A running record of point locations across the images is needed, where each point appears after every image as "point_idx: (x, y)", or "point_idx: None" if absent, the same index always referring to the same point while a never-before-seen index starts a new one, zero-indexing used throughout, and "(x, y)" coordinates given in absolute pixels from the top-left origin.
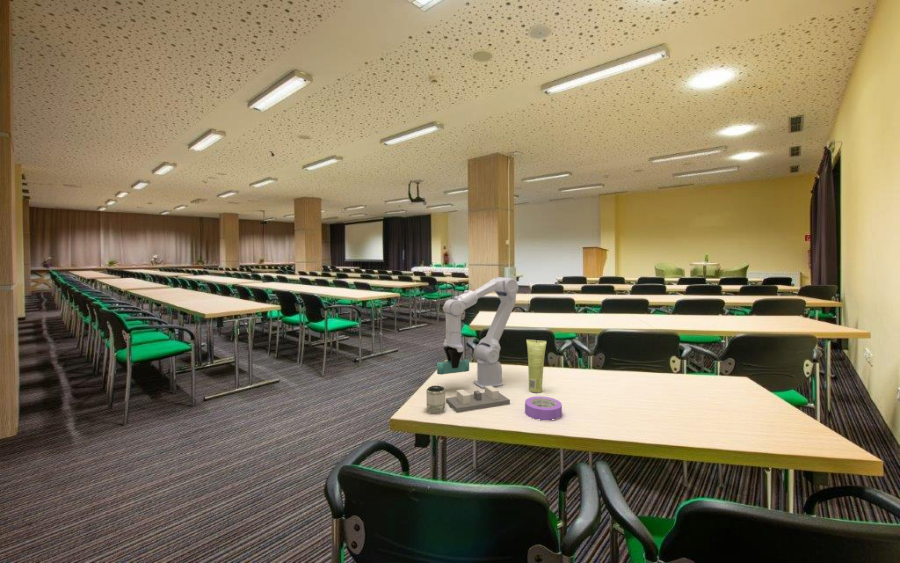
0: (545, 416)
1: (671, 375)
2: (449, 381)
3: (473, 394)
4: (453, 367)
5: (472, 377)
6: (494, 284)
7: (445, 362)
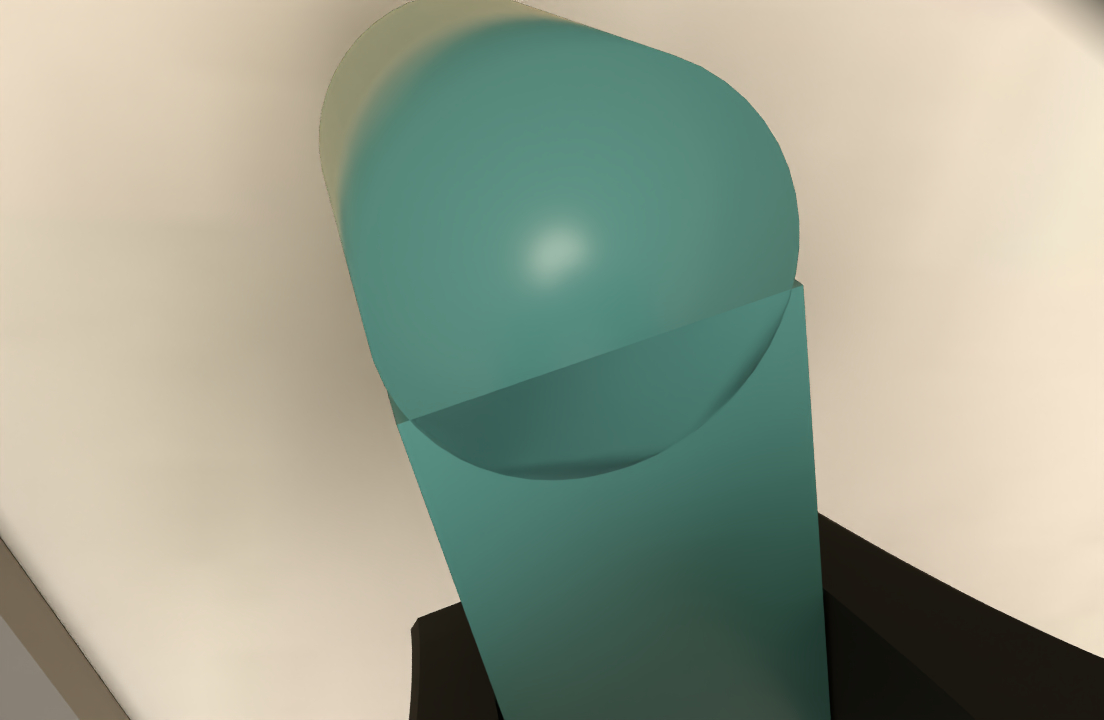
0: None
1: None
2: (916, 256)
3: (6, 655)
4: (419, 652)
5: (947, 564)
6: None
7: (612, 498)
